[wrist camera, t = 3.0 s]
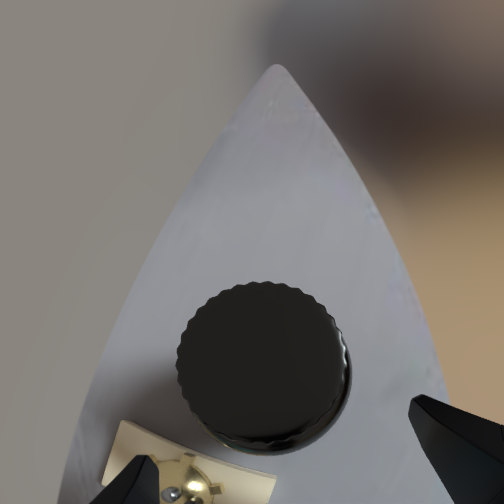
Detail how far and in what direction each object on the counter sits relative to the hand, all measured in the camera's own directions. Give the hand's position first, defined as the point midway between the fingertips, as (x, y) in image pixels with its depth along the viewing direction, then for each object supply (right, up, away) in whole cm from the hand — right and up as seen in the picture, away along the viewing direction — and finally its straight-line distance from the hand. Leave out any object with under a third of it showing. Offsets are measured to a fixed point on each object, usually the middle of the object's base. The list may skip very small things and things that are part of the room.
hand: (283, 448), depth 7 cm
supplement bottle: (0, -3, +10) cm, 11 cm away
